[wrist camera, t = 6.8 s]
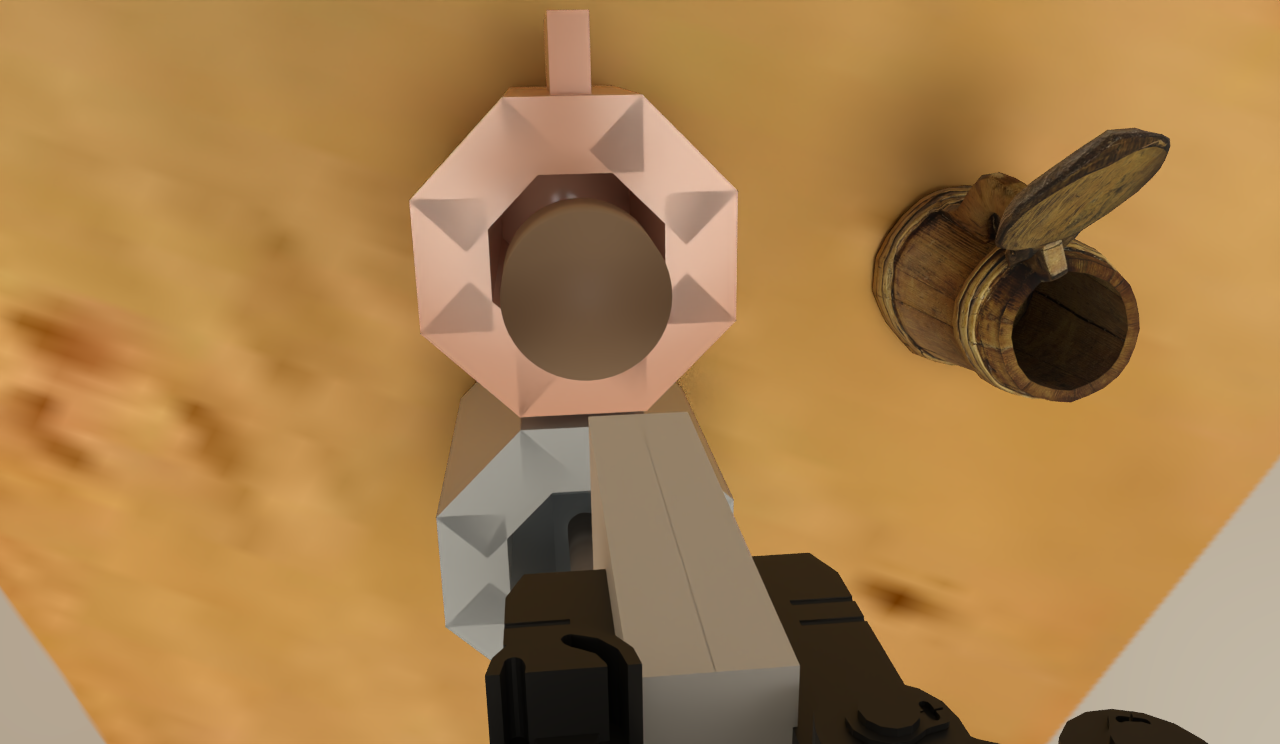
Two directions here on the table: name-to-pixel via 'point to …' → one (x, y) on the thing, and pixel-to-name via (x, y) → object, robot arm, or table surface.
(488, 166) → the pink octagonal mug
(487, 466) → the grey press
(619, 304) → the taupe plunger
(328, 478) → the table surface
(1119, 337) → the wooden mug
